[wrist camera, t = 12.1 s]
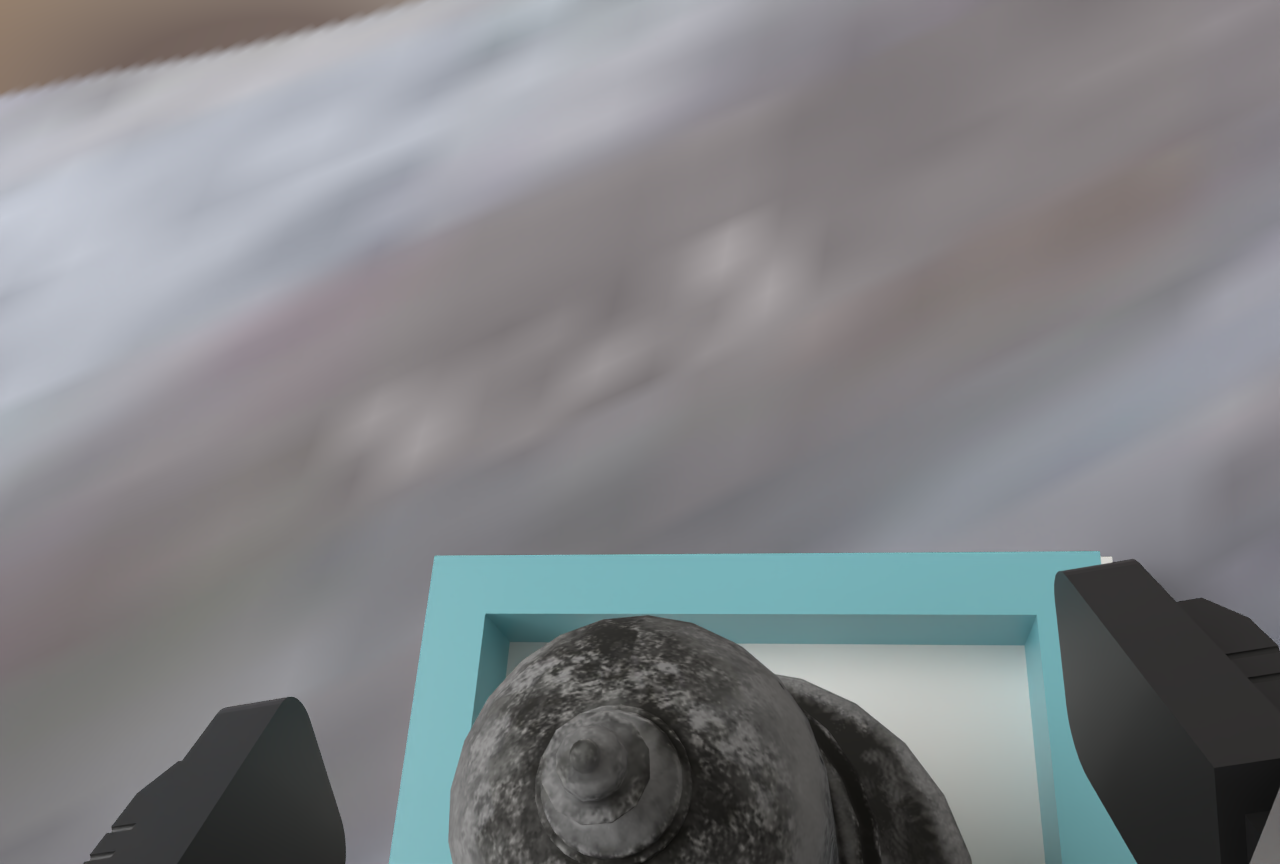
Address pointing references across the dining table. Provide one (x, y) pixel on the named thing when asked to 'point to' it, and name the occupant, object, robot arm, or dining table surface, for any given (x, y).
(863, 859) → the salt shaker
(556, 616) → the socket board
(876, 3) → the dining table surface
